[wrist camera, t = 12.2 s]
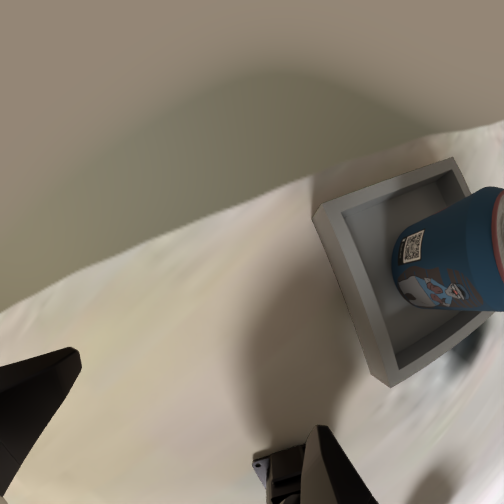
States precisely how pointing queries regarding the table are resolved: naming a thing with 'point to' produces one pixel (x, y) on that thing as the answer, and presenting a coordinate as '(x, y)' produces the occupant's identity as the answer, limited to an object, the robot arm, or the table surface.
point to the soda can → (455, 256)
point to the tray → (380, 274)
